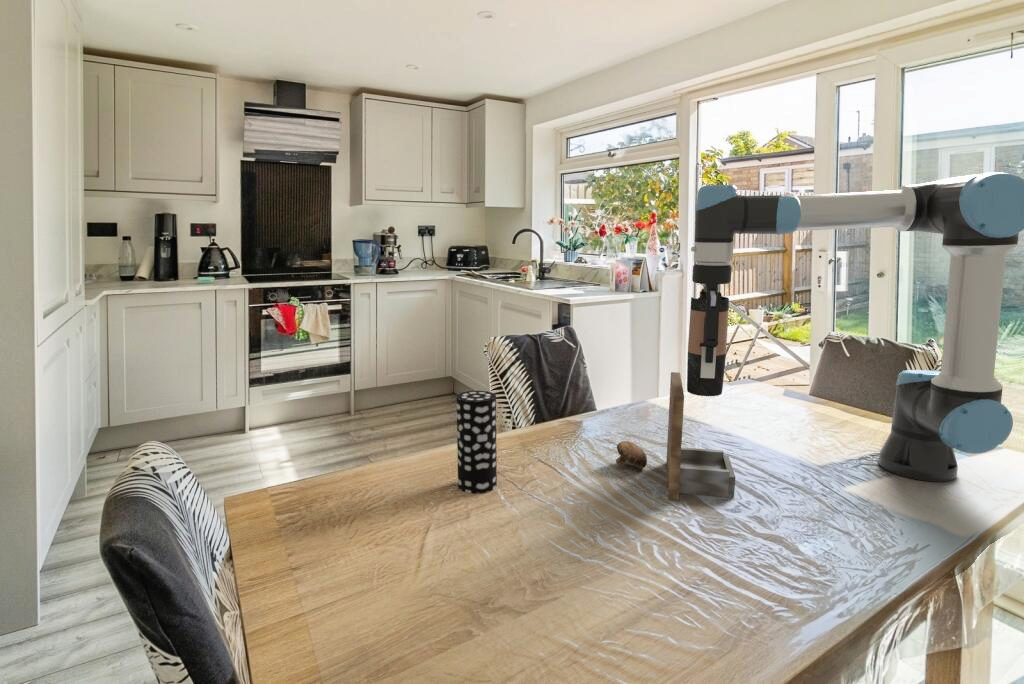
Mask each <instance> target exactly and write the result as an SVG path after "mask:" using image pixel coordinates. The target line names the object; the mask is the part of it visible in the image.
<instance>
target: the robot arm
mask: <svg viewBox="0 0 1024 684" xmlns="http://www.w3.org/2000/svg"><path fill="white" fill-rule="evenodd" d="M737 188H738V187H737V186H736V185H734V184H733V185H732V184H713V185H712V184H711V185H710V184H709V185H703V186H701V187H700V188H699V189H698V191H697V196H696V197H697V199H696V207H695V226H694V228H695V229H694V245H695V246H691V248H690V252H694V253H693V261H694V263H695V262H696V264H694V265H693V266H692V279H691V280H692V282H693V283H695V284H700V285H702V284H703V288H702V289H701V291H699V297H700V299H704V300H707V301H706V317H705V319H704V341H703V343H700V347H702V358H701V375H700V377H701V378H715V363H716V346H717V345H718V327H719V306H720V300H721V297H722V293H721V291H719V285H727V284H730V283H732V282H731V280H732V270H733V269H732V268H733V267H732V266H731V264H730V263H732V262H733V258H734V245H735V244H734V238H735V234H738V235H742V234H745V235H746V234H747V235H751V234H752V235H753V234H754V235H778V236H779V235H785V234H786V235H787V234H788V235H789V234H790V235H791V234H793V233H795V232H796V231H797V232H799V231H801V232H802V231H803V232H804V231H821V230H822V231H823V230H824V231H825V230H846V229H848V230H849V229H850V230H851V229H853V230H854V229H875V228H878V229H879V228H894V229H896V230H897V231H899V232H921V233H922V232H923V233H932V234H940V235H942V243H941V244H942V245H941V246H942V248H943V249H944V250H945V251H947V253H949V255H950V257H949V258H950V259H949V269H948V270H949V271H948V273H949V274H948V284H947V294H946V295H947V296H946V297H947V298H946V306H945V307H946V308H945V309H946V310H945V317H944V318H945V319H944V320H945V321H944V332H943V341H942V343H943V344H942V356H941V366H940V367H941V368H940V369H941V370H928V369H927V370H925V369H907V370H902V371H901V372H899V373H898V376H897V380H896V383H895V393H894V402H893V410H892V411H893V413H892V420H891V427H890V428H891V429H890V432H889V435H888V437H887V439H886V440H885V442H884V444H883V445H882V447H881V449H880V451H879V454H878V464H879V466H880V467H882V468H883V469H884V470H886V471H888V472H890V473H892V474H895V475H898V476H901V477H904V478H909V479H912V478H913V480H917V481H925V482H935V483H936V482H938V483H939V482H950V481H953V480H955V479H956V478H957V476H958V469H959V467H958V461H957V458H956V454H955V450H957V451H960V452H963V453H965V454H976V455H977V454H983V453H987V452H990V451H993V450H994V449H996V448H997V447H998V446H1000V445H1002V444H1004V442H1005V441H1006V440H1007V439H1008V438H1009V437H1010V434H1011V433H1012V429H1013V426H1014V420H1013V416H1012V412H1010V411H1009V408H1008V407H1006V406H1005V404H1003V403H1002V399H1003V397H1002V396H1003V384H1001V382H999V380H998V379H997V378H995V371H996V370H995V367H996V357H997V348H998V341H999V339H998V338H999V329H1000V321H1001V320H1000V317H1001V311H1002V310H1001V309H1002V301H1003V299H1002V298H1003V290H1004V289H1003V288H1004V280H1005V279H1004V278H1005V269H1006V260H1007V259H1006V258H1007V255H1008V253H1009V252H1011V251H1012V250H1013V249H1014V248H1016V247H1017V246H1018V243H1019V234H1020V233H1021V232H1022V231H1024V179H1023V178H1022V177H1021V176H1018V175H1016V174H1013V173H1011V172H1010V173H1008V172H994V171H993V172H992V171H989V172H984V173H977V174H971V175H965V176H963V175H961V176H954V177H950V178H944V179H940V180H936V181H931V182H925V183H918V184H917V183H916V184H908V185H907V184H906V185H902V186H900V187H898V188H897V190H883V191H862V192H861V191H860V192H841V193H824V194H823V193H821V194H803V195H784V194H778V195H777V194H775V195H774V194H773V195H771V194H770V195H740V194H738V189H737ZM713 339H714V340H713Z"/></svg>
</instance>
